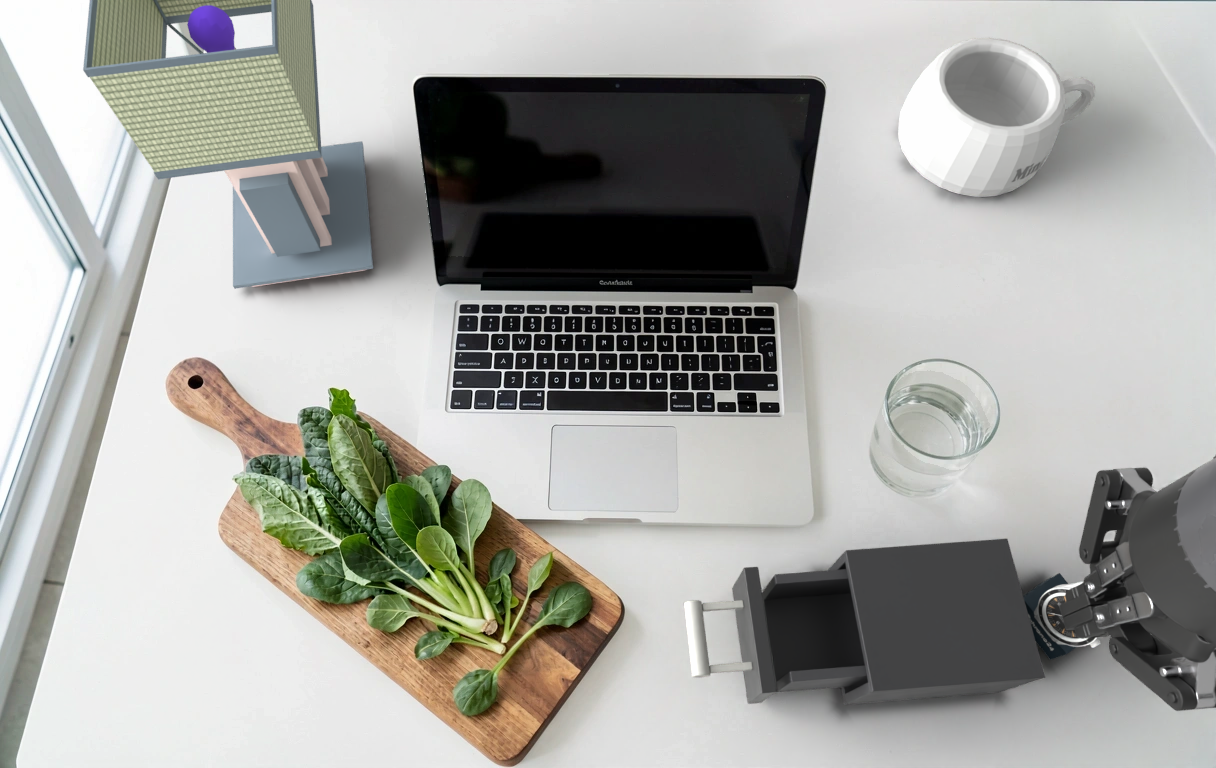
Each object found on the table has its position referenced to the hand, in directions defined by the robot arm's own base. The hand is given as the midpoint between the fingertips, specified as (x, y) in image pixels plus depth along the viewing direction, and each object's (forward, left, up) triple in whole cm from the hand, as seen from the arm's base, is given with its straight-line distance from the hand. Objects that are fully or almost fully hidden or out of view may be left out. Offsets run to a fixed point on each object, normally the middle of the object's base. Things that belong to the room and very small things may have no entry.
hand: (1077, 616), depth 54 cm
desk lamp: (+57, -52, -27) cm, 82 cm away
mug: (-20, -58, -27) cm, 67 cm away
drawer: (+12, -4, -26) cm, 29 cm away
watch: (-12, -4, -27) cm, 30 cm away
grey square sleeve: (+1, -4, -27) cm, 27 cm away
